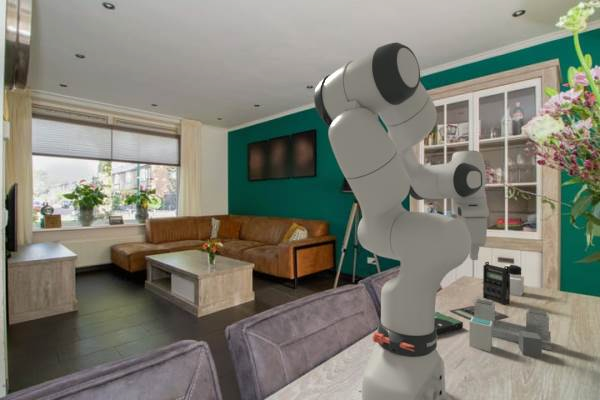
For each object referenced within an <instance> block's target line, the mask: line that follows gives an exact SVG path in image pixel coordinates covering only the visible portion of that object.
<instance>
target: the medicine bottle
mask: <svg viewBox="0 0 600 400" xmlns="http://www.w3.org/2000/svg"><path fill="white" fill-rule="evenodd" d="M504 266H508V269H510V296H511V295H512V296H517V297H522V295H523V294H524V289H525V286H524V283H525V280H524V279H525V277H524V276H522V267H521V266H519V265H515V264H506V265H504ZM506 268H507V267H506Z"/></svg>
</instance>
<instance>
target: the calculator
mask: <svg viewBox="0 0 600 400" xmlns="http://www.w3.org/2000/svg"><path fill="white" fill-rule="evenodd" d="M449 312H450V313H452V314H454V315H457V316H459V317H461V318H464V319H466V320H469V321H470V320H471V318H472V317H474V305H471V306H465V307H460V308H455V309H451V310H449ZM507 318H509V315H507V314H504V313H502V312H499V311H495V320H502V319H507Z"/></svg>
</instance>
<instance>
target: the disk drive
mask: <svg viewBox="0 0 600 400" xmlns="http://www.w3.org/2000/svg"><path fill="white" fill-rule="evenodd" d="M463 323H464V322H463V321H461V320H458V319H456V318H454V317H452V316H449V315H445V314H443V313H440V312H439V311H435V320H434V326H435V328H436V332H437V337H439V336H441V335H442V336H443V335H445V334H448V333H453V332H457V331H460V330H463V329H464V328H463V327H464V324H463Z"/></svg>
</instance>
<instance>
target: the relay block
mask: <svg viewBox="0 0 600 400" xmlns="http://www.w3.org/2000/svg"><path fill="white" fill-rule="evenodd" d="M518 349H519V351H520V352H521V354H522V355H523V356H525V357H531V358H537V359H538V358H539V359H542V357H543V355H542V353H543V349H542V339H541V338H540V336H539V335H538V334H537V333H533V332H526V331H519V343H518Z"/></svg>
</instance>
